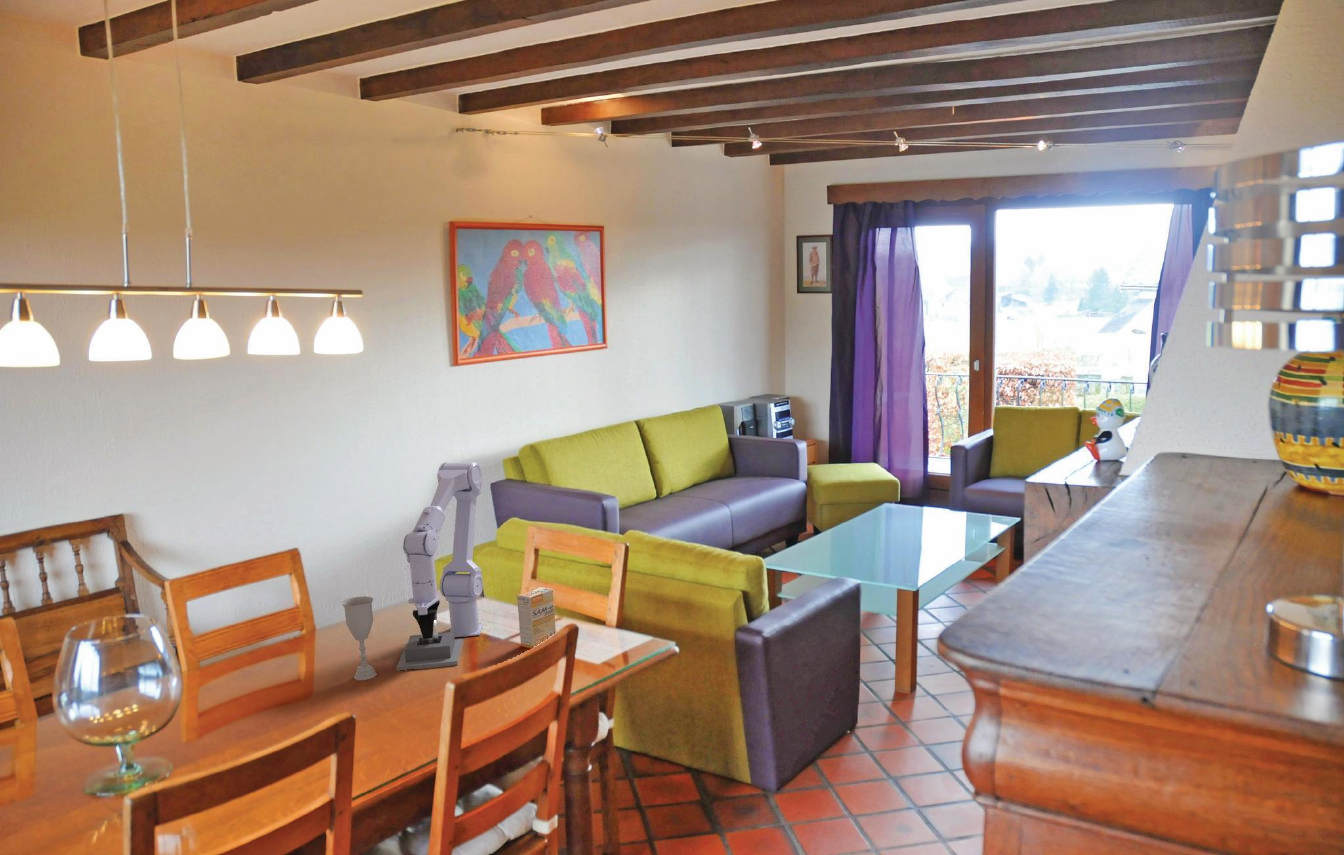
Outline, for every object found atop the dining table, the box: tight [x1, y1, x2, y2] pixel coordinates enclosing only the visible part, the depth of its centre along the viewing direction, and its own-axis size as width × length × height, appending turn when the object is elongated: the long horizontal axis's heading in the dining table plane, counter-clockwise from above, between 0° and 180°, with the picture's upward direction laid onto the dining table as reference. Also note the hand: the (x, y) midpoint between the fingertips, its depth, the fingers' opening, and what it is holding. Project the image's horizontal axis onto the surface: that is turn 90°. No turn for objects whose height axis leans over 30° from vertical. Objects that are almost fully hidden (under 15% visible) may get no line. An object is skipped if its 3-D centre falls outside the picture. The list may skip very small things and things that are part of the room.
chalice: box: [341, 596, 378, 681], centre depth 233 cm, size 7×7×18 cm
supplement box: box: [516, 586, 557, 649], centre depth 249 cm, size 8×5×13 cm, turn 143°
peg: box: [420, 613, 439, 645], centre depth 244 cm, size 4×4×8 cm
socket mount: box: [395, 631, 464, 672], centre depth 244 cm, size 16×14×4 cm
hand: (429, 634), depth 244 cm, fingers closed on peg, 4 cm apart
